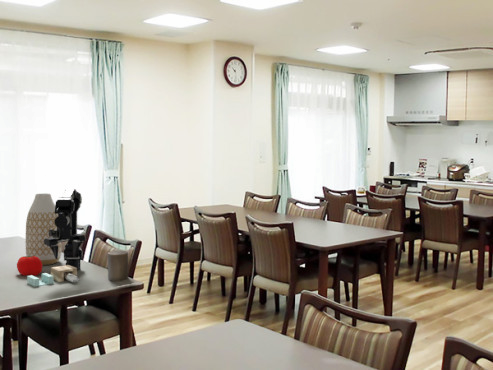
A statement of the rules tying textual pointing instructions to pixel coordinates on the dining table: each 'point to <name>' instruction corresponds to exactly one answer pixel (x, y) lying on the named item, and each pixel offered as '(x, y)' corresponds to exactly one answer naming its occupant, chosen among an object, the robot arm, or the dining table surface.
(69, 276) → the axle
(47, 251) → the vase
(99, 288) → the dining table surface
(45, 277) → the cradle
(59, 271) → the open beige box
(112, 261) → the pillar candle
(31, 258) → the tomato
